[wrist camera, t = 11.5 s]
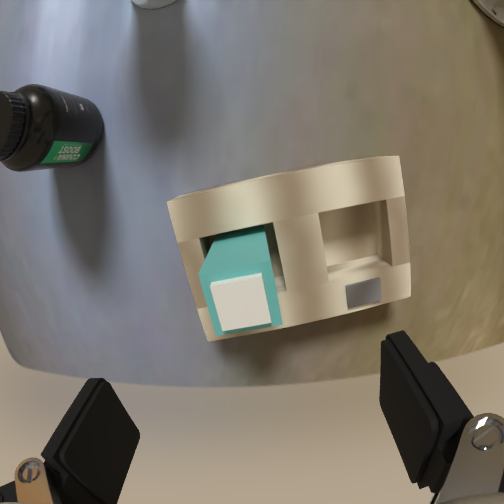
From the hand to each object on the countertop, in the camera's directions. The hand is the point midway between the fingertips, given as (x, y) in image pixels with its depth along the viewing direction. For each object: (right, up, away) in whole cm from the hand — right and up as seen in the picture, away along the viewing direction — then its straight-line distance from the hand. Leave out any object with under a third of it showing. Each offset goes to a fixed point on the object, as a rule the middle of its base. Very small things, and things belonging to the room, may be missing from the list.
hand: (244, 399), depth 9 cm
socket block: (+4, +6, +18) cm, 20 cm away
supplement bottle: (-17, +16, +16) cm, 28 cm away
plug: (0, +5, +18) cm, 18 cm away
